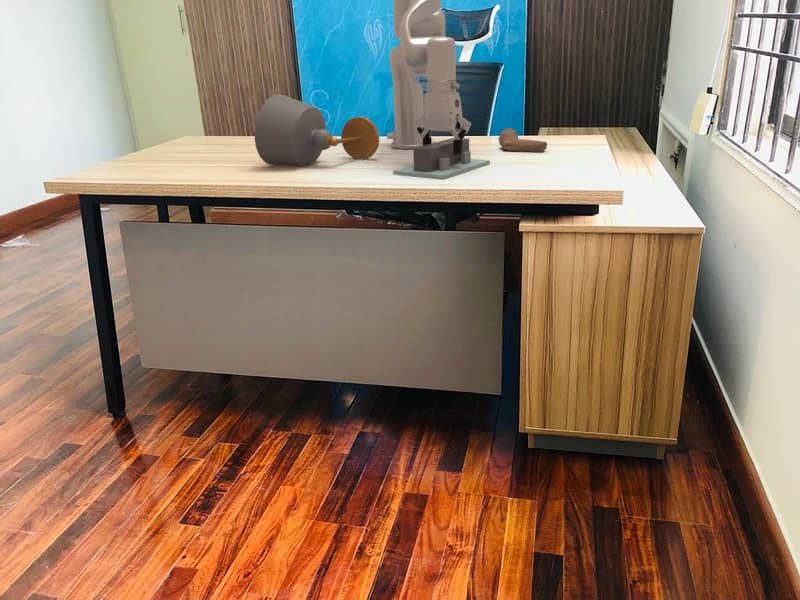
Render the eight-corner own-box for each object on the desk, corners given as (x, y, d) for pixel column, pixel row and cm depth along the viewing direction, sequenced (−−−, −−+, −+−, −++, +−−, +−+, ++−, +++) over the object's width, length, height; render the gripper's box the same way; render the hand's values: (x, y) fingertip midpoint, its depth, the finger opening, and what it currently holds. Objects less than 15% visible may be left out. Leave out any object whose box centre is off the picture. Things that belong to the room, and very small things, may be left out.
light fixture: (254, 94, 193) (336, 109, 183) (307, 93, 215) (383, 106, 204) (251, 167, 200) (329, 186, 190) (302, 159, 222) (375, 175, 211)
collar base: (393, 174, 187) (392, 159, 185) (441, 160, 205) (441, 146, 203) (443, 179, 178) (443, 163, 176) (489, 164, 196) (490, 149, 194)
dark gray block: (454, 158, 200) (453, 137, 198) (469, 160, 197) (469, 138, 195) (414, 170, 185) (413, 147, 183) (429, 172, 182) (429, 148, 180)
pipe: (544, 137, 207) (552, 128, 215) (490, 136, 214) (500, 126, 222) (544, 158, 210) (552, 148, 218) (491, 156, 217) (501, 146, 225)
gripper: (477, 86, 181) (477, 153, 188) (422, 86, 191) (423, 149, 197) (462, 89, 176) (462, 157, 182) (406, 88, 185) (408, 153, 192)
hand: (442, 153), depth 190 cm, fingers open, 9 cm apart
